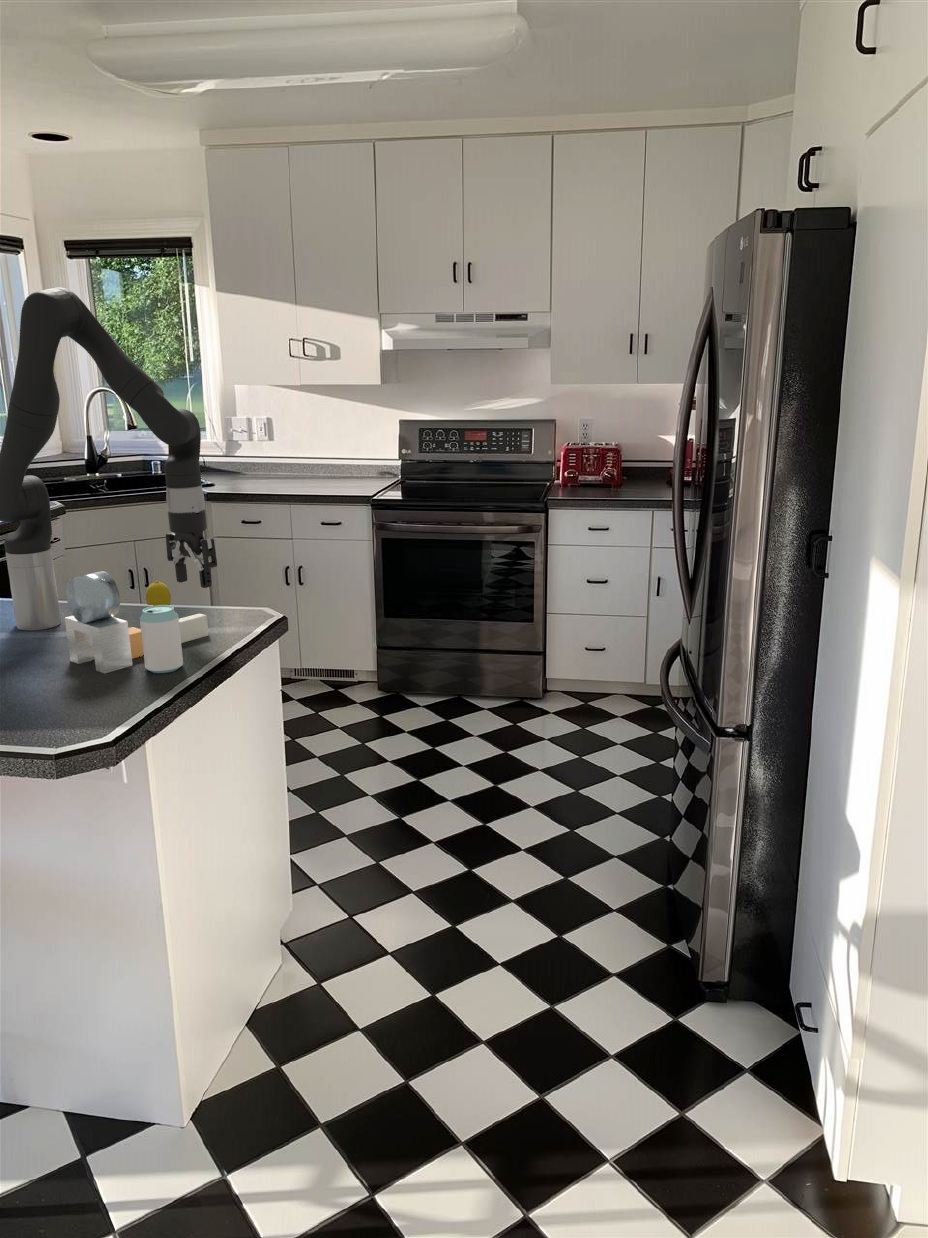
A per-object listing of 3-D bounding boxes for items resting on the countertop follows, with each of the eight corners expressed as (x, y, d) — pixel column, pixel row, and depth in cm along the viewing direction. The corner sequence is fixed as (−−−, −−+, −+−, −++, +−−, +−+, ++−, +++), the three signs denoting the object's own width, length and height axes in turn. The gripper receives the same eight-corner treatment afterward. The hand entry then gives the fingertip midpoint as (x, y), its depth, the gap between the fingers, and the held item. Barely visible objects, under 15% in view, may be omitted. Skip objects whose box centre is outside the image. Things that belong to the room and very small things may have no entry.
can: (169, 675, 183) (162, 614, 179) (137, 672, 185) (130, 612, 182) (190, 664, 189) (184, 605, 186) (160, 661, 191) (153, 602, 188)
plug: (117, 655, 196) (115, 631, 194) (198, 632, 210) (196, 610, 209) (130, 659, 193) (127, 635, 192) (211, 636, 207) (209, 613, 206)
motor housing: (70, 661, 192) (58, 572, 187) (98, 653, 197) (87, 567, 192) (104, 673, 185) (93, 582, 180) (132, 665, 189) (122, 575, 184)
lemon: (165, 617, 222) (161, 584, 219) (143, 616, 223) (139, 583, 220) (176, 611, 227) (173, 578, 225) (155, 610, 228) (151, 577, 226)
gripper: (150, 507, 201) (159, 583, 206) (191, 513, 192) (199, 592, 197) (181, 502, 207) (189, 576, 211) (222, 508, 198) (229, 585, 202)
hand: (194, 584), depth 204 cm, fingers open, 8 cm apart
